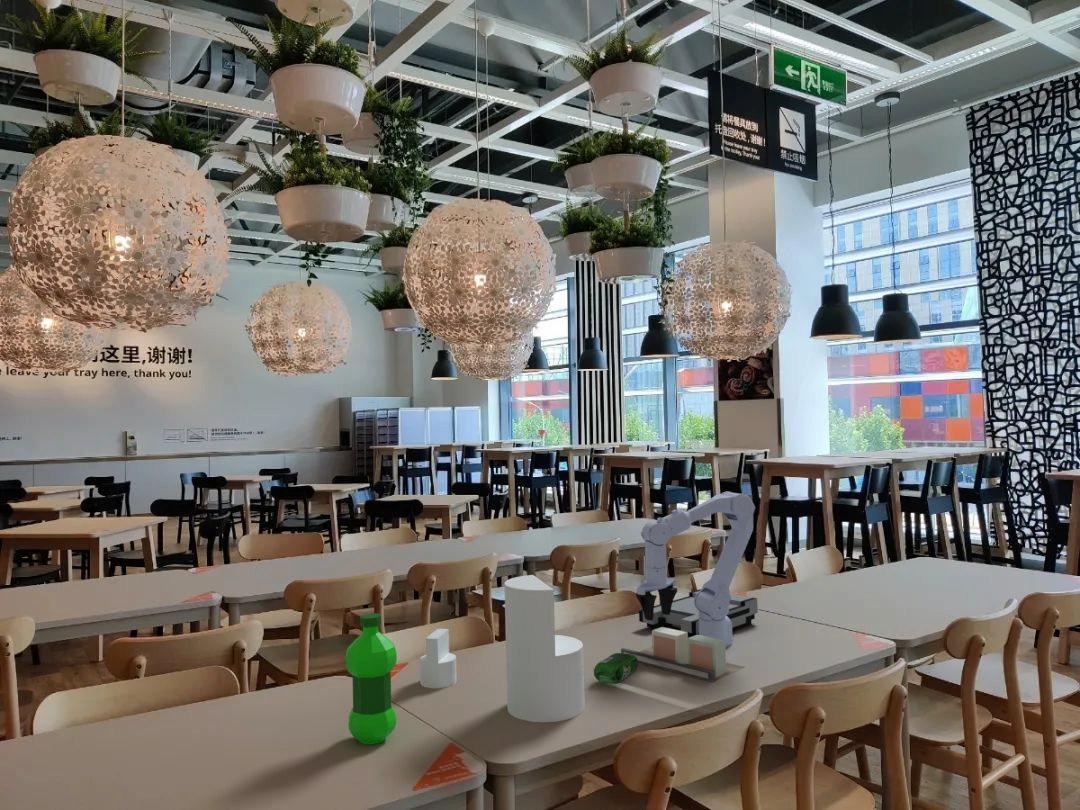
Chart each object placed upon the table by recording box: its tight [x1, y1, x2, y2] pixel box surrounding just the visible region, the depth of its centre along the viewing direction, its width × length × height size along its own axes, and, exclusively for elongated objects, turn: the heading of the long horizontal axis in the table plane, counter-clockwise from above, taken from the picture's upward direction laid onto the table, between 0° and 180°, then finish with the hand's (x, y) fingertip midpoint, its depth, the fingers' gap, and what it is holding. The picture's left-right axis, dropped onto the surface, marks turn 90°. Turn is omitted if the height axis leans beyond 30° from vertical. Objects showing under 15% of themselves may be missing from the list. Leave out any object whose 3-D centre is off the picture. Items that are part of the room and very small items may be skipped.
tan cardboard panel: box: [620, 646, 745, 683], centre depth 197 cm, size 15×28×4 cm, turn 44°
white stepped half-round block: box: [419, 628, 458, 689], centre depth 189 cm, size 9×9×12 cm
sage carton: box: [687, 635, 727, 678], centre depth 189 cm, size 5×8×8 cm, turn 44°
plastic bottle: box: [345, 613, 398, 745], centre depth 156 cm, size 10×10×25 cm
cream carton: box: [651, 627, 689, 664], centre depth 197 cm, size 5×8×8 cm, turn 45°
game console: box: [638, 588, 759, 637], centre depth 233 cm, size 21×32×8 cm, turn 133°
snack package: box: [593, 652, 639, 685], centre depth 189 cm, size 7×16×5 cm, turn 149°
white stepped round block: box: [504, 574, 585, 723], centre depth 171 cm, size 17×17×28 cm
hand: (657, 616), depth 206 cm, fingers open, 7 cm apart
